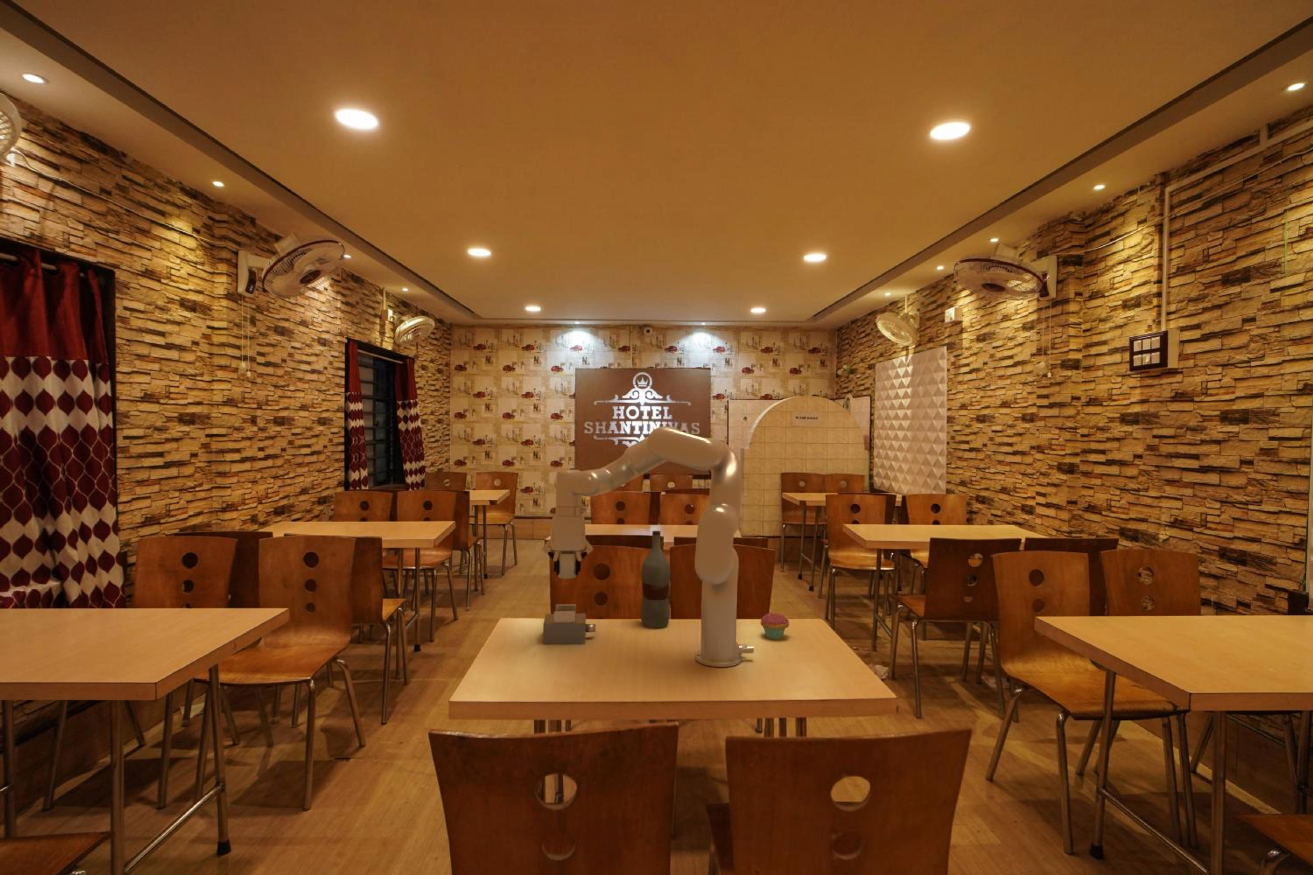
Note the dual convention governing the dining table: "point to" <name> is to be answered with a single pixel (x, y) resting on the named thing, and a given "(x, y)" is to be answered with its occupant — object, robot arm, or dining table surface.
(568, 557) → the toy camera lens
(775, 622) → the cupcake
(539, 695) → the dining table surface
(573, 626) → the box with side knob
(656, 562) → the bottle
